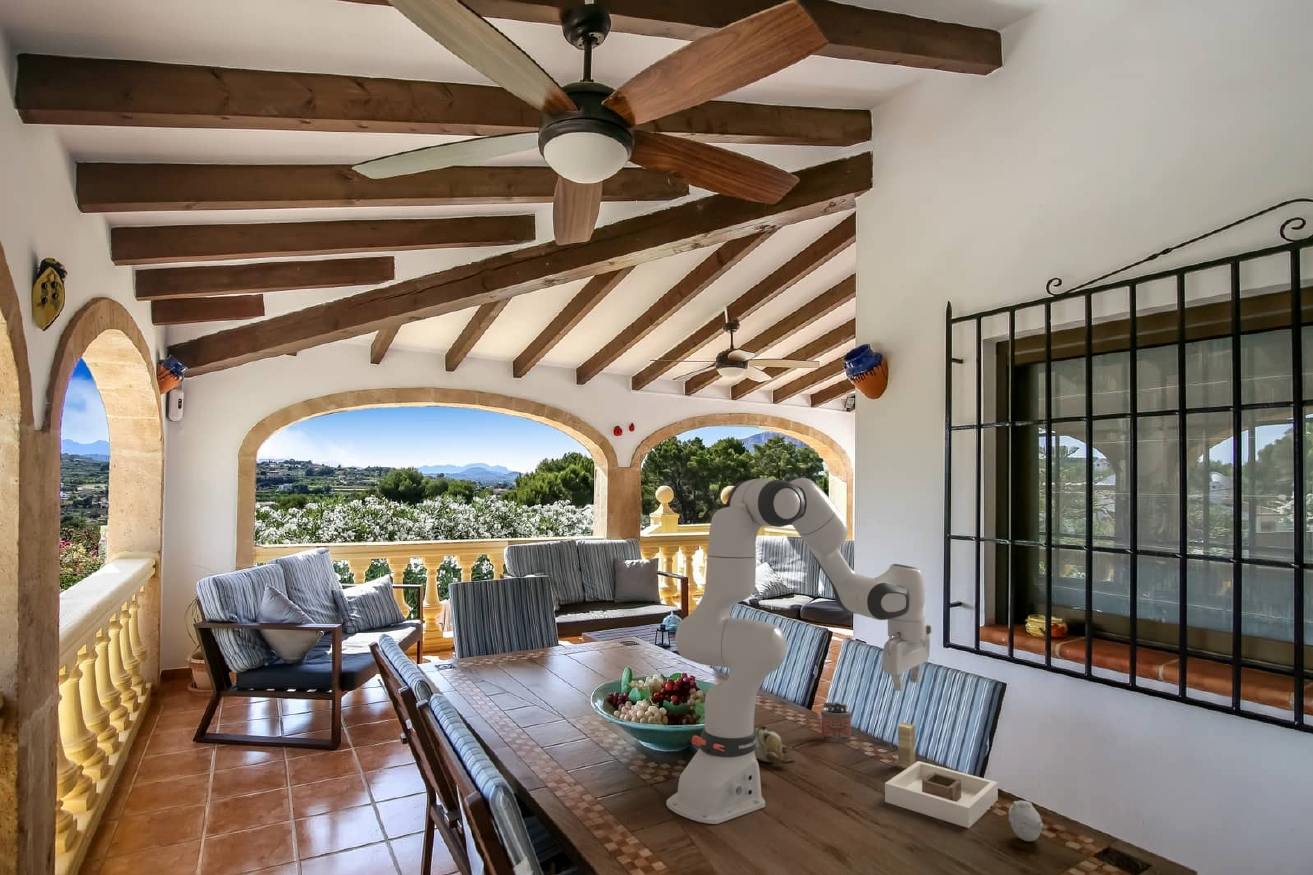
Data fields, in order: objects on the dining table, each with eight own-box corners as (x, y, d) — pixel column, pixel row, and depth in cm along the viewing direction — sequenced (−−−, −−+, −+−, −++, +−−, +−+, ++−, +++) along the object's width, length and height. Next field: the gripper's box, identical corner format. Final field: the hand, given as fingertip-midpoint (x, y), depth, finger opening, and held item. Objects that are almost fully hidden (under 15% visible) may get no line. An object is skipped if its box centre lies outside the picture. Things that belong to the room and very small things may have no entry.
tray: (968, 828, 152) (968, 805, 152) (885, 801, 164) (884, 780, 164) (997, 800, 165) (997, 779, 166) (918, 778, 177) (918, 758, 178)
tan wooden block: (910, 770, 182) (909, 728, 183) (898, 766, 184) (898, 725, 185) (915, 766, 185) (914, 725, 185) (903, 763, 187) (903, 722, 187)
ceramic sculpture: (738, 715, 195) (797, 724, 191) (736, 749, 194) (794, 758, 191) (734, 729, 184) (795, 738, 181) (731, 764, 184) (793, 774, 181)
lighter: (850, 738, 204) (850, 701, 205) (852, 742, 201) (852, 705, 201) (820, 737, 205) (820, 700, 205) (821, 741, 202) (821, 703, 202)
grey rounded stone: (1031, 830, 151) (1030, 795, 152) (1050, 848, 144) (1050, 811, 145) (1001, 831, 151) (1001, 795, 151) (1019, 848, 144) (1019, 811, 144)
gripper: (900, 638, 176) (901, 698, 176) (934, 625, 192) (934, 680, 191) (875, 634, 181) (875, 692, 180) (910, 622, 196) (910, 675, 195)
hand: (906, 686), depth 186 cm, fingers open, 8 cm apart
